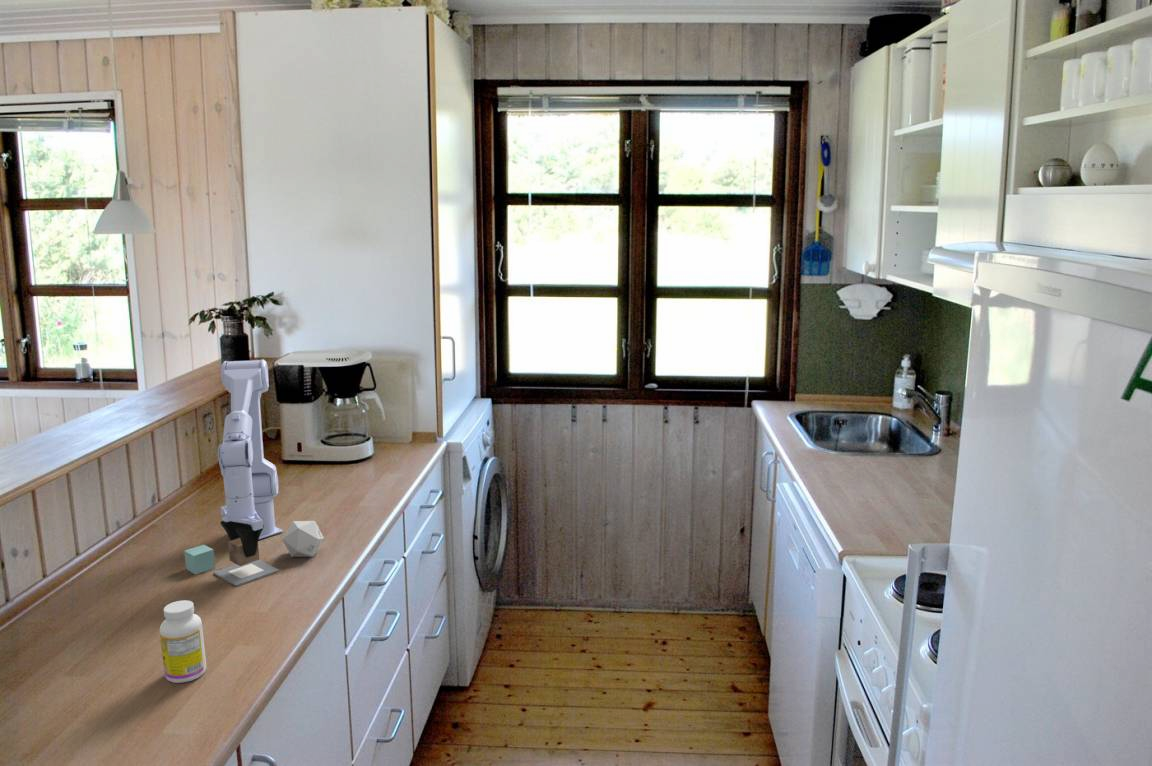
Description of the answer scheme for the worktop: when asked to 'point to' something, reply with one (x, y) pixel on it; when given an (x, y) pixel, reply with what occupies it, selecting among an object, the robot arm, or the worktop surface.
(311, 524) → the die
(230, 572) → the grey square plate
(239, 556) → the walnut block
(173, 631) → the supplement bottle
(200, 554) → the teal block
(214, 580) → the worktop surface
